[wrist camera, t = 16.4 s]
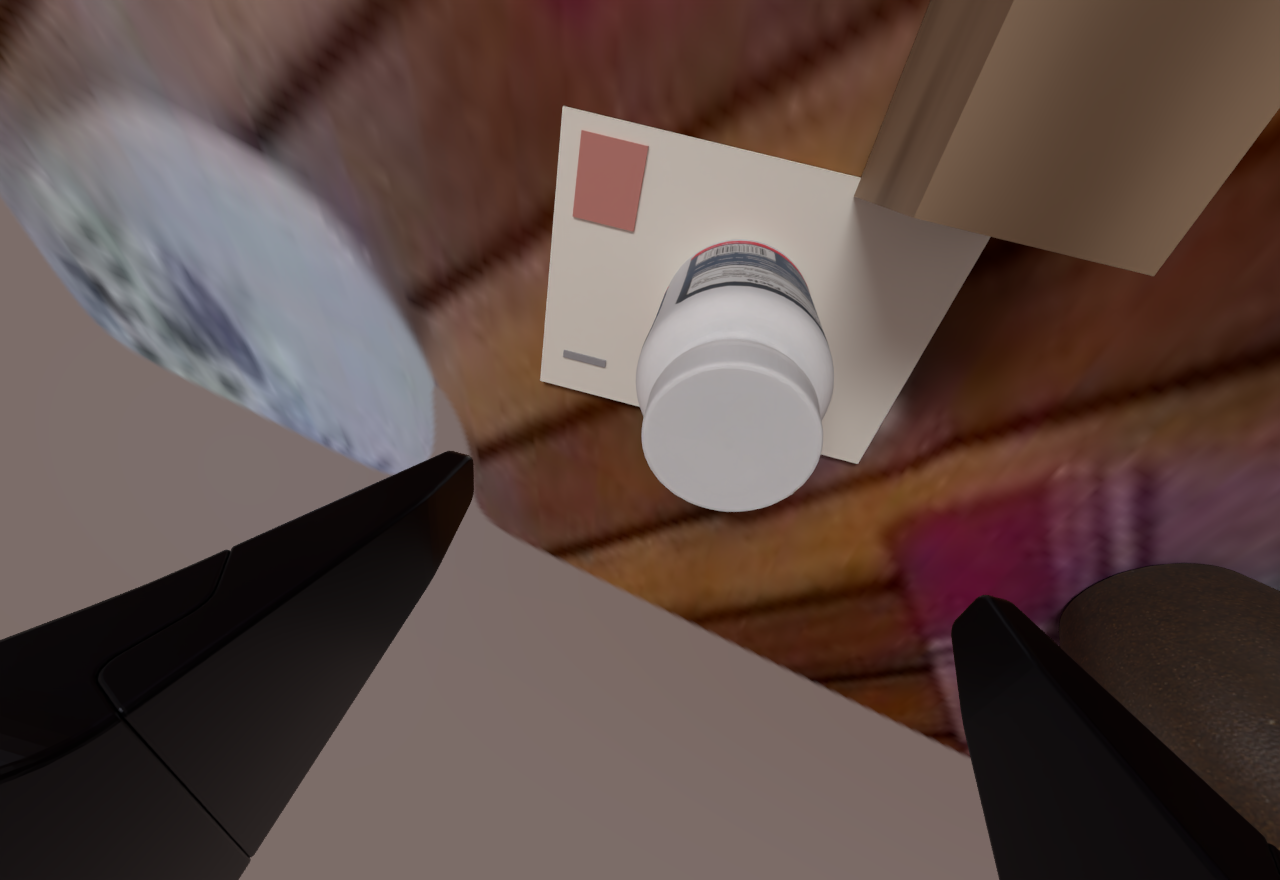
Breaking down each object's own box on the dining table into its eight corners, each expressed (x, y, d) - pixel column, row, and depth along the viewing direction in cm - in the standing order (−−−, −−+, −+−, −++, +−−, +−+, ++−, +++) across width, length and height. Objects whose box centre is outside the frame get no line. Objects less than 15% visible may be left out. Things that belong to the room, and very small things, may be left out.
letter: (1000, 211, 15) (1005, 213, 15) (856, 459, 21) (858, 465, 21) (565, 106, 16) (561, 106, 15) (542, 377, 21) (539, 381, 21)
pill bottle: (736, 400, 20) (729, 565, 13) (636, 318, 19) (567, 449, 12) (842, 304, 17) (911, 447, 10) (733, 201, 16) (722, 278, 9)
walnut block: (1128, 30, 13) (1400, -55, 7) (1012, 234, 15) (1153, 276, 10) (936, -14, 13) (1071, -125, 8) (853, 196, 15) (913, 217, 10)
